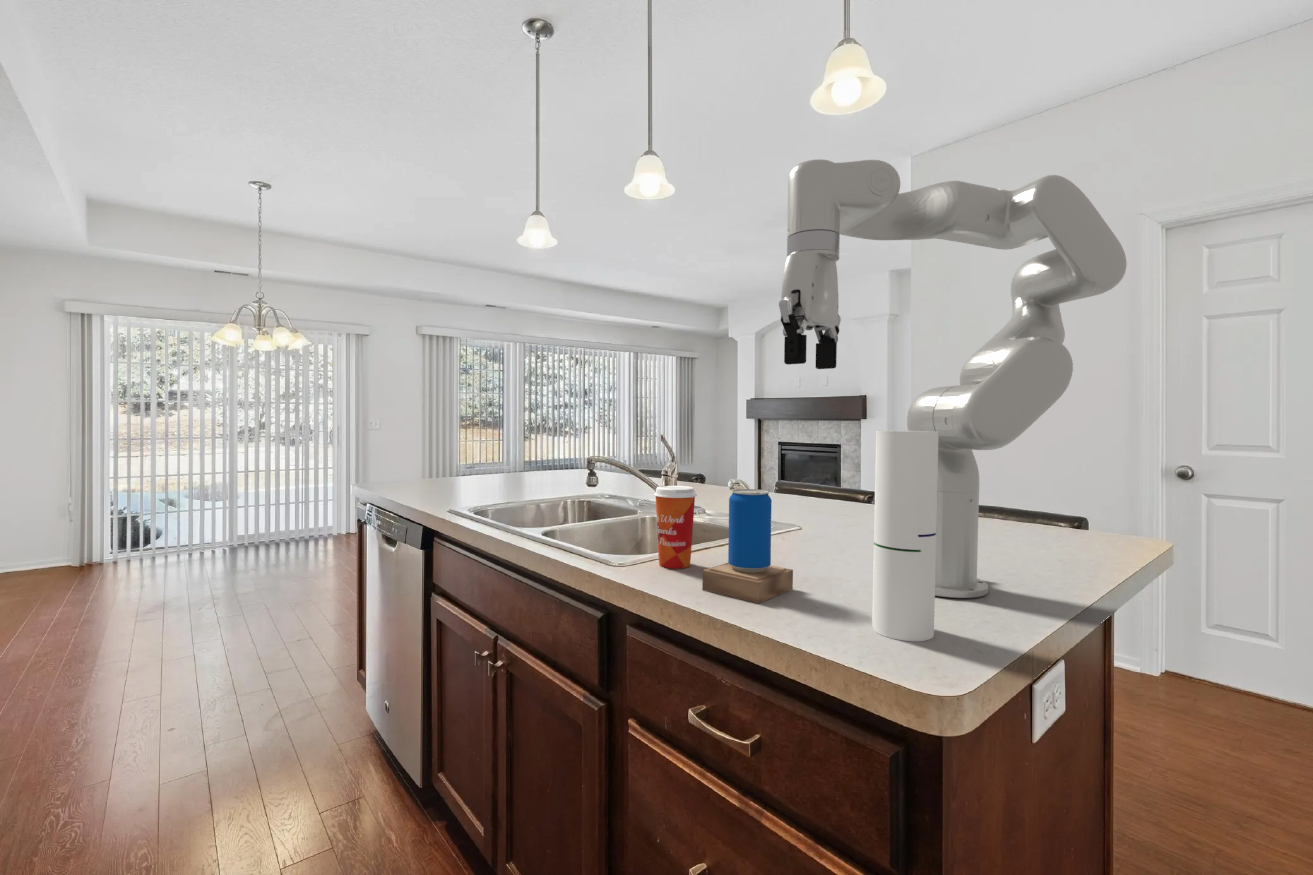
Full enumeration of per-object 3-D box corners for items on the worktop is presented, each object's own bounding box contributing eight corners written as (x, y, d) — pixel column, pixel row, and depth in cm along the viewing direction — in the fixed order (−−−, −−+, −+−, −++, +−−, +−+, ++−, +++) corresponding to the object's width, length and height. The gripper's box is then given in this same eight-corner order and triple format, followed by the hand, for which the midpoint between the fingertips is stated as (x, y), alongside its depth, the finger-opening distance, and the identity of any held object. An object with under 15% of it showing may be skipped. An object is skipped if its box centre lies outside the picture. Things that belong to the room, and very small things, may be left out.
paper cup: (644, 565, 106) (645, 487, 106) (671, 557, 112) (672, 484, 112) (678, 572, 101) (679, 491, 101) (705, 564, 107) (705, 487, 107)
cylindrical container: (947, 638, 72) (952, 431, 71) (897, 643, 70) (902, 431, 69) (906, 618, 79) (910, 430, 78) (860, 623, 77) (864, 430, 76)
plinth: (738, 577, 99) (738, 557, 99) (792, 588, 92) (793, 568, 92) (702, 589, 91) (702, 568, 91) (758, 603, 85) (758, 580, 85)
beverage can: (770, 575, 88) (771, 494, 87) (726, 572, 89) (727, 493, 89) (770, 564, 94) (771, 489, 94) (729, 562, 95) (730, 488, 95)
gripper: (816, 266, 97) (814, 371, 97) (760, 242, 84) (758, 363, 84) (861, 258, 92) (859, 369, 92) (808, 231, 79) (806, 360, 79)
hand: (811, 366), depth 88 cm, fingers open, 9 cm apart
